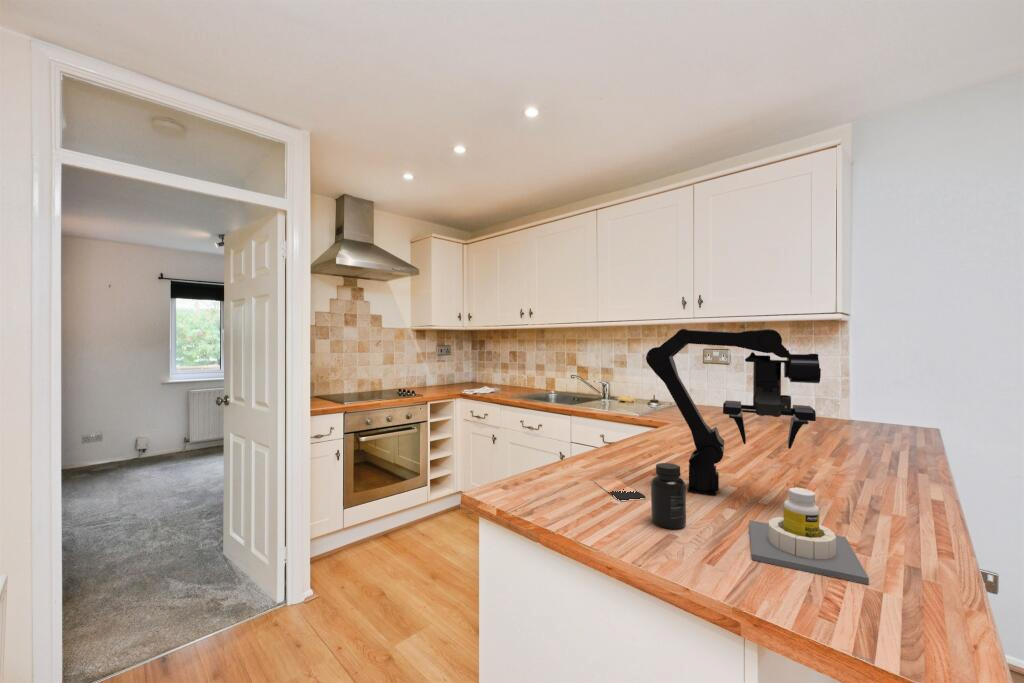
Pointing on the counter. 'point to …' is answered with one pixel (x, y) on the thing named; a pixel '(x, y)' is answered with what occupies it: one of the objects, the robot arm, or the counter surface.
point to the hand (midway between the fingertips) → (766, 446)
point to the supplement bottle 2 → (801, 513)
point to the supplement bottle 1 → (668, 497)
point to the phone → (627, 495)
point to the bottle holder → (805, 551)
